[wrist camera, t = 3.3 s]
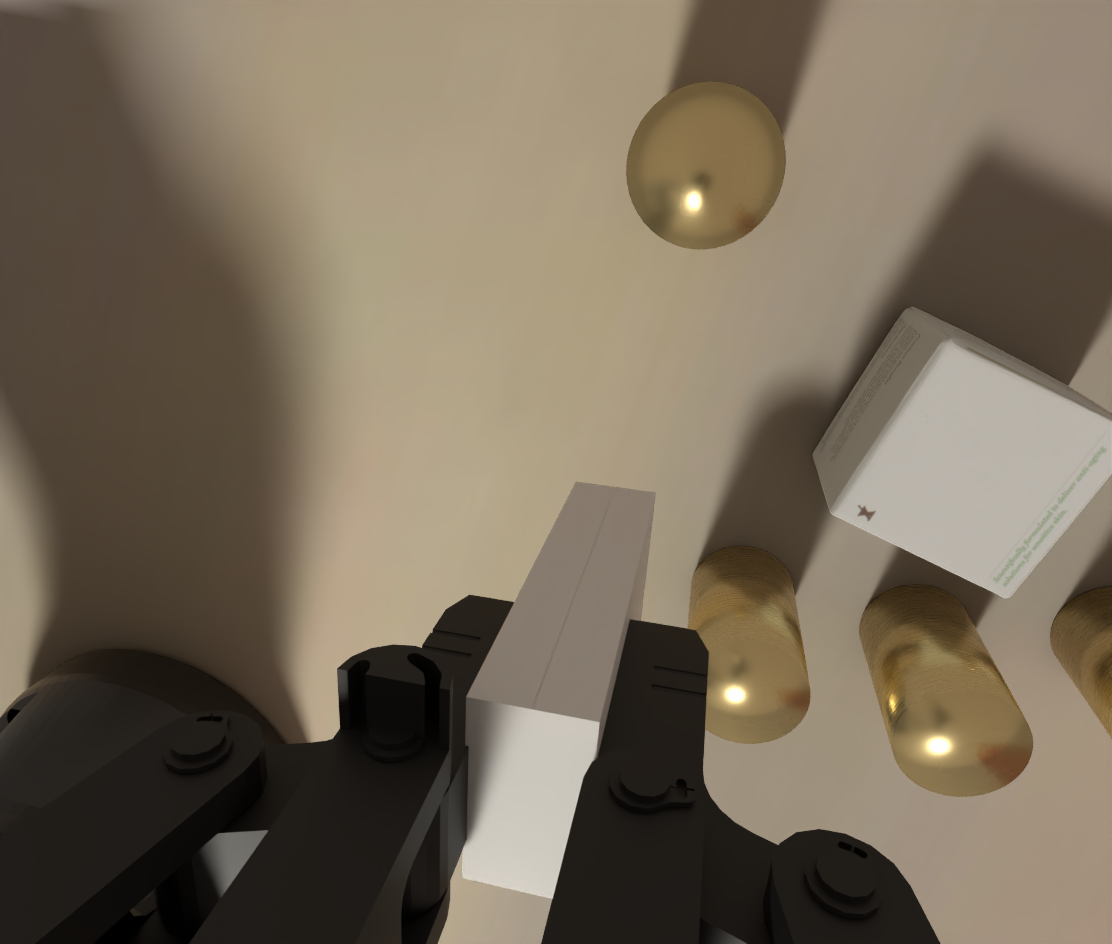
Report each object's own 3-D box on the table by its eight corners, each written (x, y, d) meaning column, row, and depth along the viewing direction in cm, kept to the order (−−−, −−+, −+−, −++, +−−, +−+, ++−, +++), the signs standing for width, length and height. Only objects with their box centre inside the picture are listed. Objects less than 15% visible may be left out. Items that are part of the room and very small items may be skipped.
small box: (961, 533, 26) (1009, 608, 21) (805, 456, 26) (821, 514, 22) (1075, 384, 24) (1157, 433, 19) (904, 300, 24) (945, 329, 19)
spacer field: (604, 624, 30) (576, 726, 24) (658, 81, 23) (636, 52, 17) (1174, 717, 27) (1291, 859, 21) (1434, 118, 20) (1708, 97, 14)
